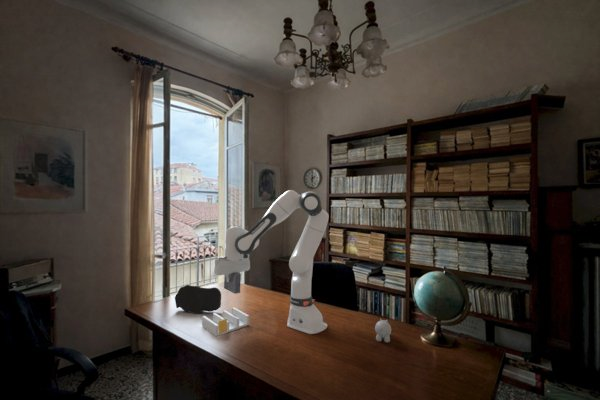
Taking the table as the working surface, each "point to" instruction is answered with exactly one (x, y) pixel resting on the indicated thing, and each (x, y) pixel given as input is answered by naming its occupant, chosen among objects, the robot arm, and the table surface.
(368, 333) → the table surface
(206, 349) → the table surface
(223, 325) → the rack
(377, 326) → the toy rhinoceros
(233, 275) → the blanking panel
